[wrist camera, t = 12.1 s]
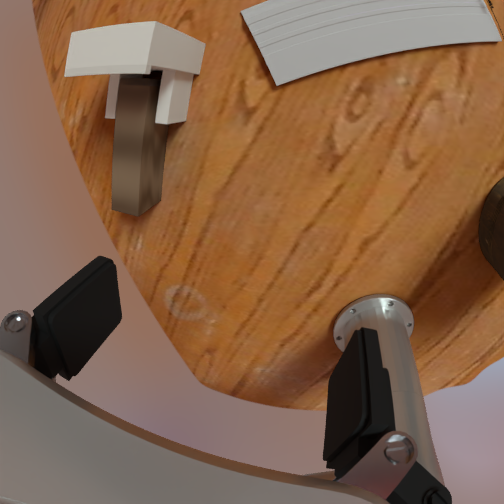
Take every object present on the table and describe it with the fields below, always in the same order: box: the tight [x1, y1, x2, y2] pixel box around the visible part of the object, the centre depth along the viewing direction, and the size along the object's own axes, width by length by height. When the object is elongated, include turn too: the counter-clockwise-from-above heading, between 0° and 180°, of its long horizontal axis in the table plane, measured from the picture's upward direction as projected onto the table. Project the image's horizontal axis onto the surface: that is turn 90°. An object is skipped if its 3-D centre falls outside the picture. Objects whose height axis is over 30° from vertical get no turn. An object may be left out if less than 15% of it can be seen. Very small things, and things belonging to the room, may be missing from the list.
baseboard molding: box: [241, 0, 504, 86], centre depth 20 cm, size 31×3×12 cm
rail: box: [112, 78, 169, 216], centre depth 32 cm, size 16×4×6 cm, turn 169°
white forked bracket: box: [64, 21, 206, 124], centre depth 25 cm, size 10×10×12 cm
